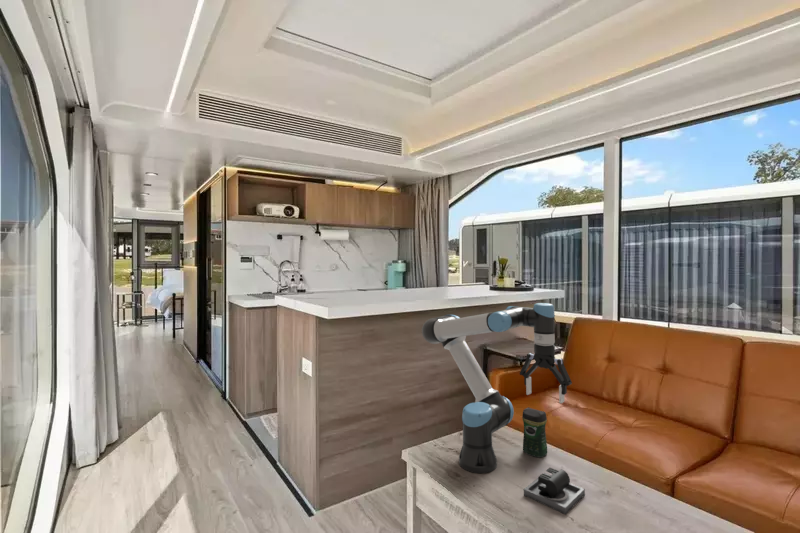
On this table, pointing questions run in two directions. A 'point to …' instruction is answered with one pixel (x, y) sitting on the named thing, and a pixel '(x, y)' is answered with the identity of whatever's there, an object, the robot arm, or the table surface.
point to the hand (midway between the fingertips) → (544, 398)
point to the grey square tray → (561, 501)
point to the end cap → (553, 482)
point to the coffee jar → (534, 432)
